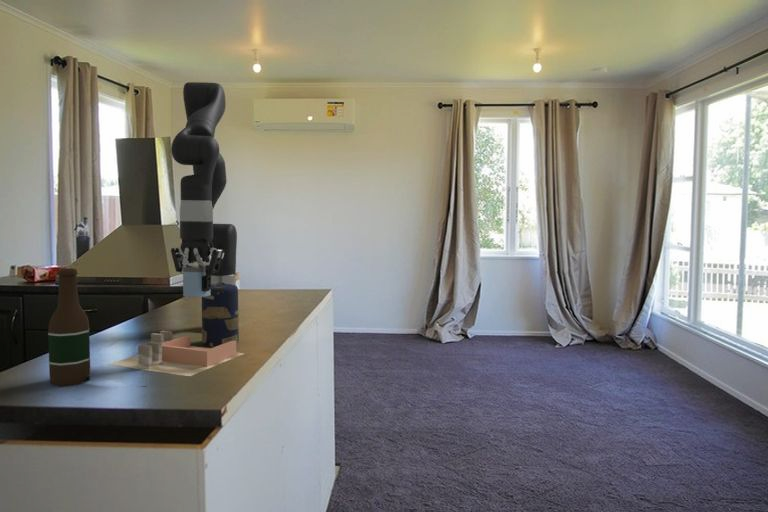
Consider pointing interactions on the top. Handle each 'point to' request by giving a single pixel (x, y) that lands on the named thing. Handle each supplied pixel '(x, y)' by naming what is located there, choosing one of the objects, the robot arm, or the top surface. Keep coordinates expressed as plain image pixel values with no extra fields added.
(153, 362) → the board
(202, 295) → the grey block
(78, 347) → the beer bottle
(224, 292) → the canister
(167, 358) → the tray
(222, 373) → the top surface
